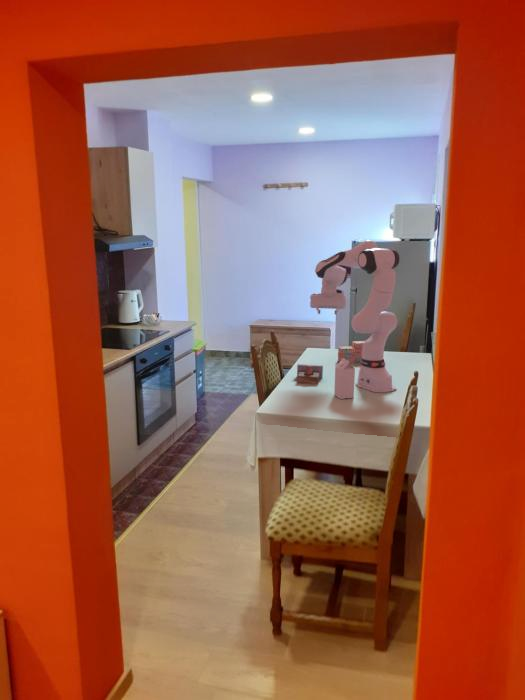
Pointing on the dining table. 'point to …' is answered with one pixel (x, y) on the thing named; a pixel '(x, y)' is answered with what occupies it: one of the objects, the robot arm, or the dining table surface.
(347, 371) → the milk carton
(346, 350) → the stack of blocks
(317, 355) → the dining table surface
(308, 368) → the dowel
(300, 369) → the backstop wall
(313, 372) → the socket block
